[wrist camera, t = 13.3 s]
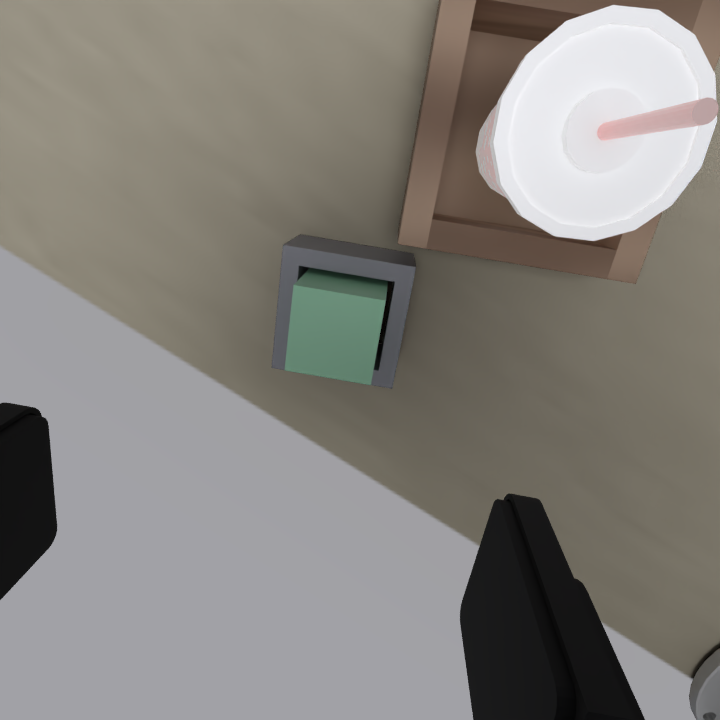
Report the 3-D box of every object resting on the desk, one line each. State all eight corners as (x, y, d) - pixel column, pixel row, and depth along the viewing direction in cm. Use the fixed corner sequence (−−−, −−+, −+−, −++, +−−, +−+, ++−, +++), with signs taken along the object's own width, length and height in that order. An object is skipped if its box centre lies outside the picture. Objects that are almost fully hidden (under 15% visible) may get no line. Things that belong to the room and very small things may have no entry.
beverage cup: (431, 156, 23) (473, 133, 10) (530, 37, 21) (749, -192, 8) (523, 243, 24) (673, 329, 11) (626, 137, 22) (960, 86, 9)
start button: (376, 346, 26) (370, 385, 21) (305, 334, 26) (284, 370, 21) (388, 276, 24) (385, 300, 20) (313, 263, 24) (293, 285, 20)
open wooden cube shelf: (591, 263, 25) (635, 284, 20) (398, 230, 25) (397, 244, 20) (666, 35, 21) (741, -4, 17) (439, -1, 21) (450, -50, 17)
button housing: (393, 359, 28) (392, 388, 24) (288, 341, 28) (271, 367, 24) (413, 253, 25) (416, 267, 22) (300, 234, 25) (283, 244, 22)
